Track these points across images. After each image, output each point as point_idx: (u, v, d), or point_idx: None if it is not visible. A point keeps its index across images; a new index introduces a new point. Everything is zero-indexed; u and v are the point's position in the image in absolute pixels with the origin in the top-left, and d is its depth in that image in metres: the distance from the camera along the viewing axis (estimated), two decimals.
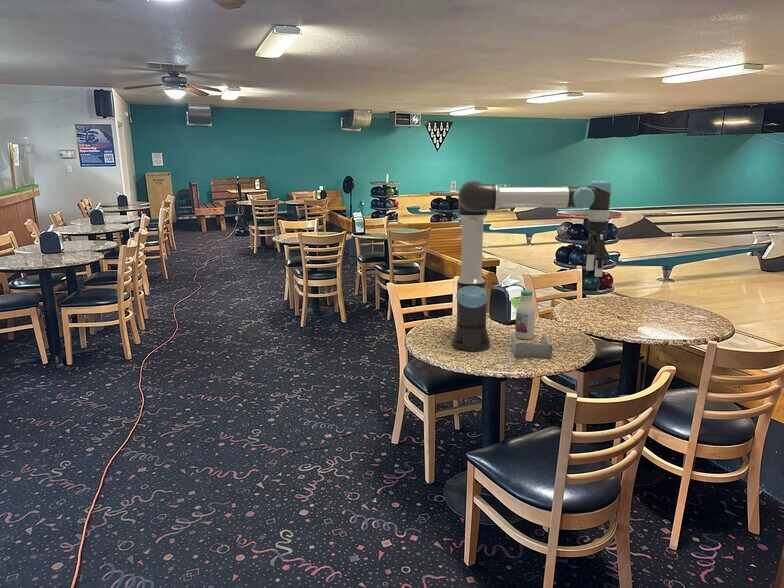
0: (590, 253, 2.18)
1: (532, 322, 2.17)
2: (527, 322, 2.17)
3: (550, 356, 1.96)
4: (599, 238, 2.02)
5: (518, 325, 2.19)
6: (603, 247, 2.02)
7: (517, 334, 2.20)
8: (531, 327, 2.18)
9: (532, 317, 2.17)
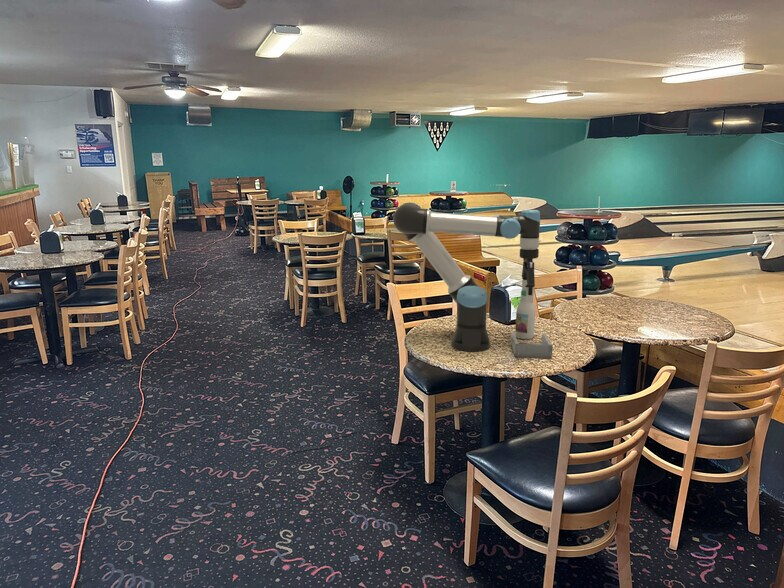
0: (525, 278, 2.24)
1: (532, 322, 2.17)
2: (527, 322, 2.17)
3: (550, 356, 1.96)
4: (529, 266, 2.09)
5: (518, 325, 2.19)
6: (532, 275, 2.08)
7: (517, 334, 2.20)
8: (531, 327, 2.18)
9: (532, 317, 2.17)
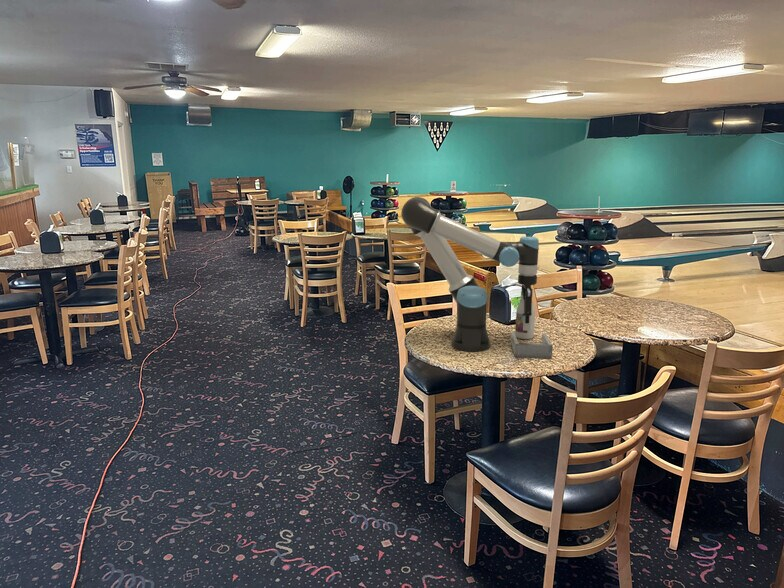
0: None
1: (532, 322, 2.17)
2: None
3: (550, 356, 1.96)
4: (527, 295, 2.12)
5: (518, 325, 2.19)
6: (530, 304, 2.12)
7: (517, 334, 2.20)
8: (531, 327, 2.18)
9: (532, 317, 2.17)
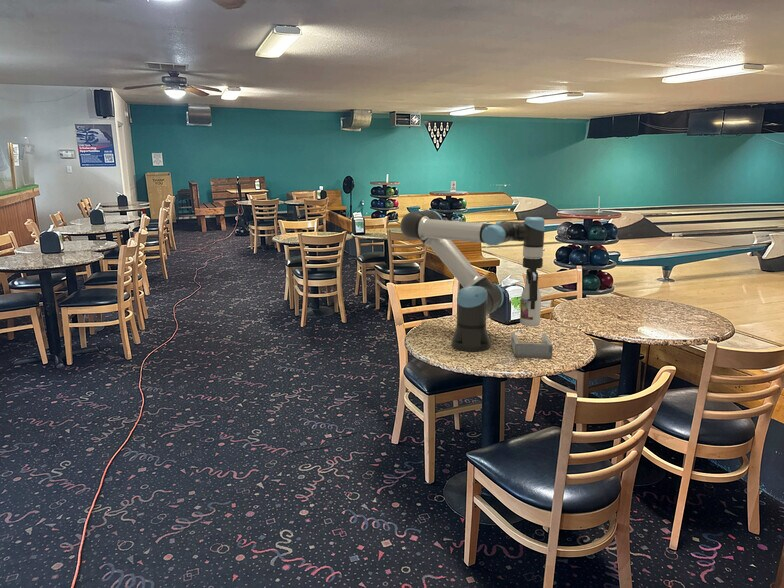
0: None
1: (537, 308, 2.05)
2: None
3: (550, 356, 1.96)
4: (532, 279, 1.99)
5: (523, 311, 2.06)
6: (535, 288, 1.99)
7: (522, 321, 2.08)
8: (537, 313, 2.05)
9: (538, 303, 2.04)
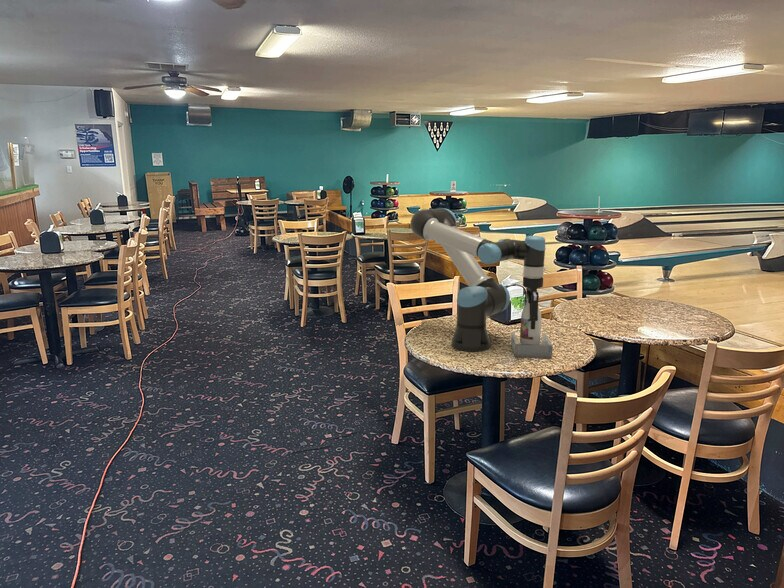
0: None
1: (538, 328, 2.03)
2: None
3: (550, 356, 1.96)
4: (533, 299, 1.97)
5: (523, 331, 2.04)
6: (536, 308, 1.97)
7: (522, 341, 2.05)
8: (537, 333, 2.03)
9: (538, 322, 2.02)
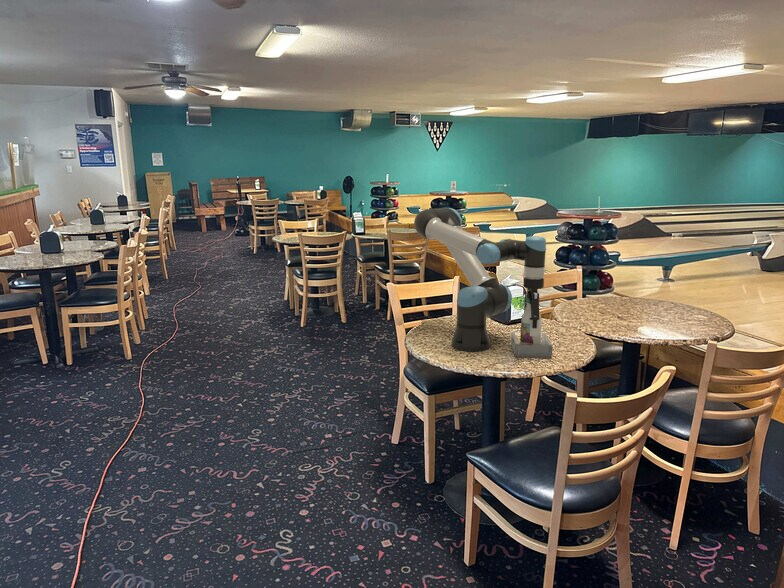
0: None
1: (538, 332, 2.01)
2: None
3: (550, 356, 1.96)
4: (533, 297, 1.95)
5: (523, 335, 2.03)
6: (537, 307, 1.94)
7: None
8: (537, 337, 2.02)
9: (538, 327, 2.01)
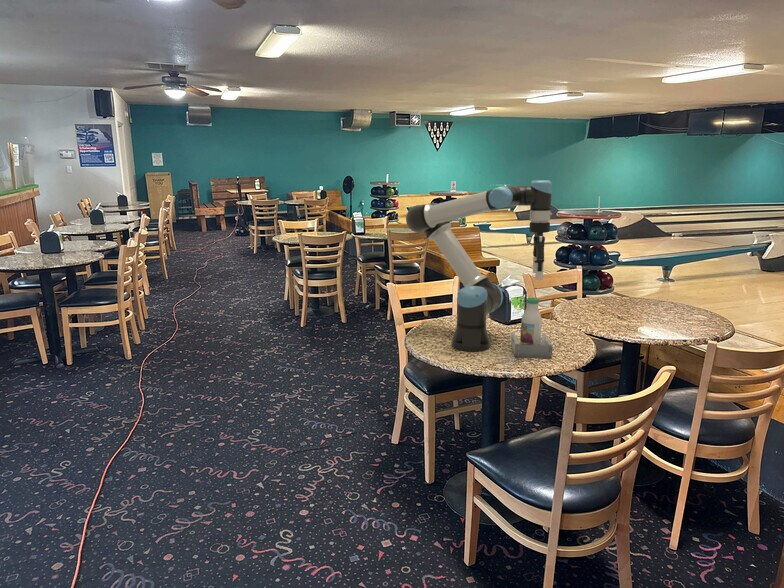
0: (536, 255, 2.10)
1: (538, 332, 2.01)
2: (533, 332, 2.01)
3: (550, 356, 1.96)
4: (538, 240, 1.95)
5: (523, 335, 2.03)
6: (542, 249, 1.94)
7: None
8: (537, 338, 2.02)
9: (538, 327, 2.01)
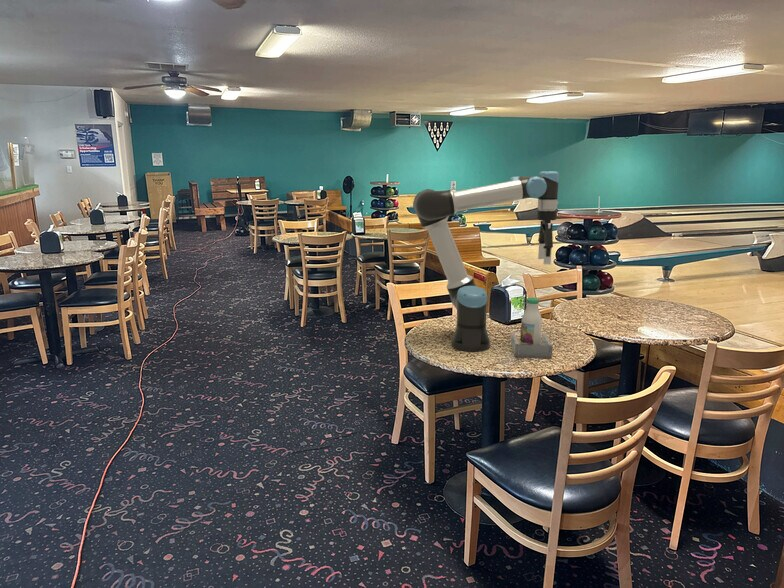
0: (542, 242, 2.23)
1: (538, 332, 2.01)
2: (533, 332, 2.01)
3: (550, 356, 1.96)
4: (547, 227, 2.08)
5: (523, 335, 2.03)
6: (551, 235, 2.07)
7: None
8: (537, 338, 2.02)
9: (539, 327, 2.01)
